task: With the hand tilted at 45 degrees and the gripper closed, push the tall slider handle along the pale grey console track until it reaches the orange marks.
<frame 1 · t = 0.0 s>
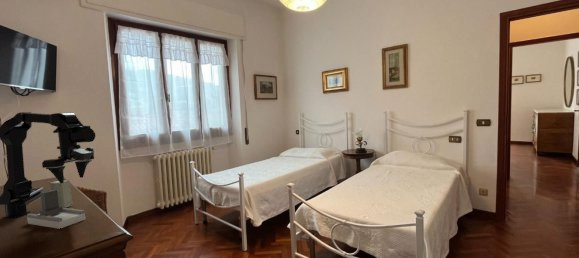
hand: (72, 180, 115), 15 cm above the table, tool pointing down, fingers open, 9 cm apart
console: (56, 221, 109), on the table
slider: (50, 202, 109), point 7 cm above the table, slide at 0.0 cm
skincare box: (62, 207, 128), on the table
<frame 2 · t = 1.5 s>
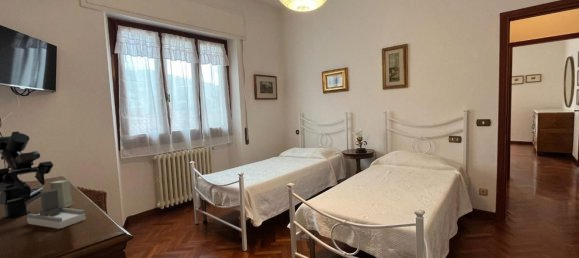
hand: (34, 186, 113), 14 cm above the table, tool tilted 45°, fingers open, 6 cm apart
nothing on the table moved.
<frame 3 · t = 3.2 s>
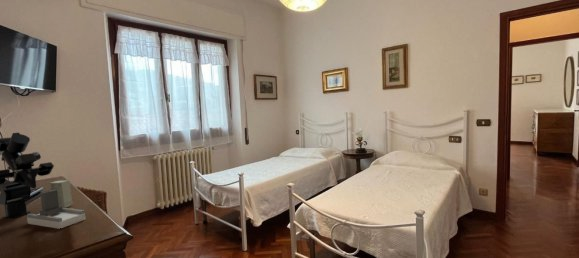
hand: (34, 187, 112), 13 cm above the table, tool tilted 45°, fingers closed
nothing on the table moved.
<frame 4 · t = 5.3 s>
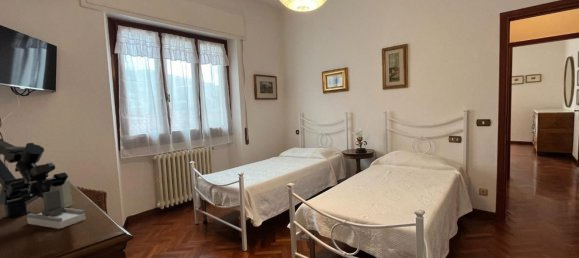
hand: (49, 199, 109), 9 cm above the table, tool tilted 45°, fingers closed, pressing on slider
slider: (52, 202, 109), point 7 cm above the table, slide at 1.5 cm, touching gripper
everything else where it was.
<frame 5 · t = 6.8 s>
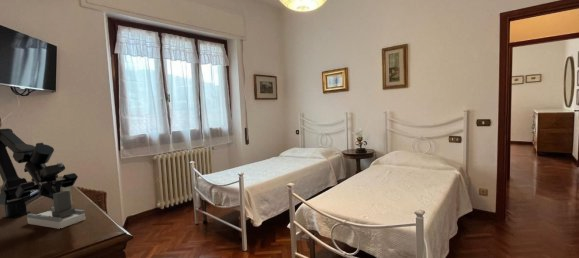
hand: (59, 200, 107), 9 cm above the table, tool tilted 45°, fingers closed, pressing on slider
slider: (62, 203, 107), point 8 cm above the table, slide at 7.9 cm, touching gripper
everything else where it was.
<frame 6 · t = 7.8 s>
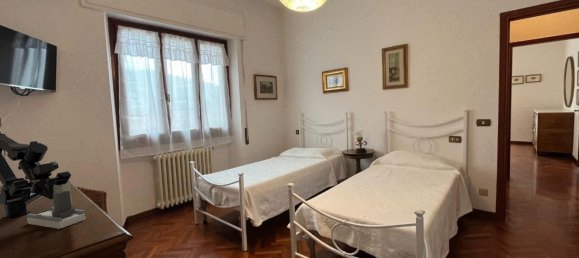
hand: (52, 198, 109), 9 cm above the table, tool tilted 45°, fingers closed
slider: (62, 203, 107), point 7 cm above the table, slide at 7.9 cm
everything else where it was.
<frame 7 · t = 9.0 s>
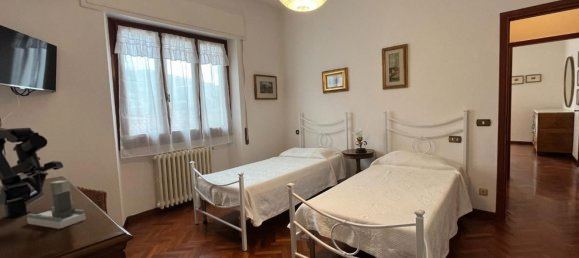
hand: (39, 192, 111), 11 cm above the table, tool tilted 20°, fingers closed
nothing on the table moved.
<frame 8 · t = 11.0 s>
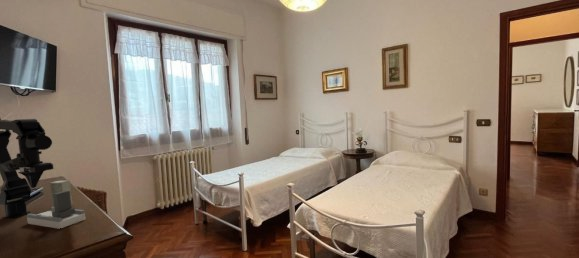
hand: (33, 187, 113), 13 cm above the table, tool pointing down, fingers closed
nothing on the table moved.
at the end: slider slide at 7.9 cm; skincare box moved 0.2 cm from its start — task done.
